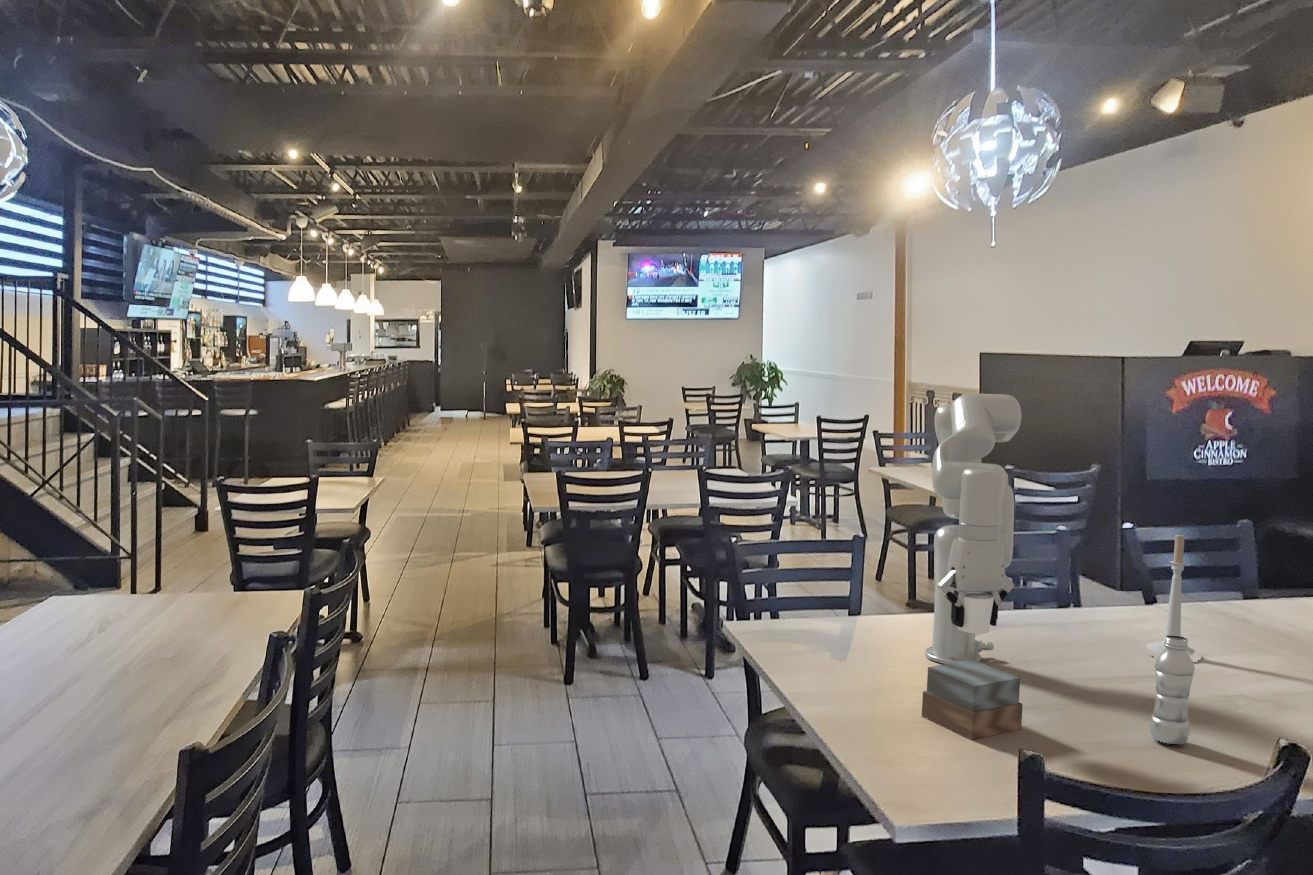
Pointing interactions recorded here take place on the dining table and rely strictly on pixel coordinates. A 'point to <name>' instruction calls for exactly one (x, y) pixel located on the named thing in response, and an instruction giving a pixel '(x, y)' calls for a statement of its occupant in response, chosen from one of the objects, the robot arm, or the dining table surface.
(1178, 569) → the candlestick
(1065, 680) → the dining table surface
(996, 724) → the grey and wood block
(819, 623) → the dining table surface
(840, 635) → the dining table surface
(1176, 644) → the plastic bottle
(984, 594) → the white grey-rimmed cylinder
